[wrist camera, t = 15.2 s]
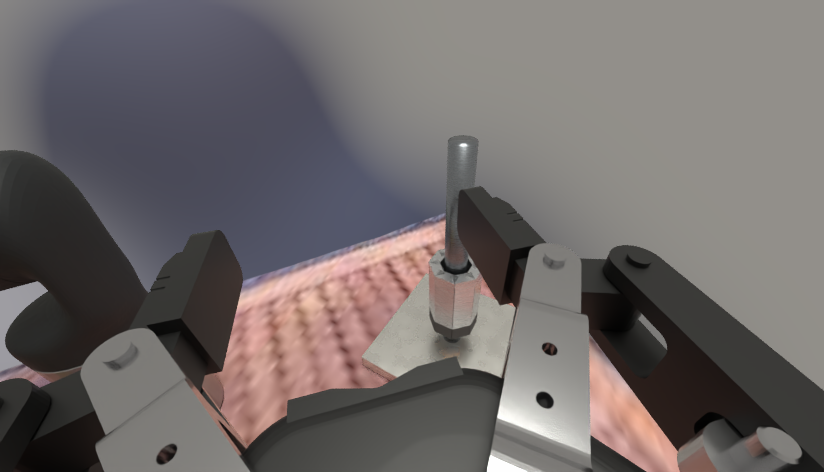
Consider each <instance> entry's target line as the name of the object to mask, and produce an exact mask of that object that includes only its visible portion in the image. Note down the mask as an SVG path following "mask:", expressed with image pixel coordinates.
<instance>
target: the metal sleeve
mask: <svg viewBox="0 0 824 472" xmlns="http://www.w3.org/2000/svg"><path fill="white" fill-rule="evenodd" d="M444 265H445V249H442V250H439V251H437V252H436V254H435V255H434V256H433V257H432V259H431V260H430V261H429V308H430V311H431V313H432V316H433V319H434V321H435V322H436V323H438V324H441V325H443V326H445V327H447V328H450V329H457V328H461V327H465V326H469V325H471V324H472V322H473V320H474V318H475V316H476V314H477V312H478V306H479V299H480V291H481V284H482V275H481V274H480V272H479V270H478V269H477V267H476V265H475V264H474V262H473V261H472V259H471V257H470V256H469V254H468V265H467V273H464V274H460V275H453V274H450V273H447V272H445V271H444Z"/></svg>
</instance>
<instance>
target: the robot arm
mask: <svg viewBox="0 0 824 472" xmlns="http://www.w3.org/2000/svg"><path fill="white" fill-rule="evenodd" d="M457 231H458V236H459V239H460V241H461V243H462V244H463V246H464V248H465V249H466V251H467V252H468V254H469V256H470V257H471V259H472V261H473V262H474V264H475V265H476V267H477V269H478V270H479V272H480V274H481V275H482V277H483V279H484V280H485V282H486V283H487V285H488V287H489V288H490V290H491V292H492V293H493V295H494V297H495V298H496V300H497V301H498V303H499V305H504V304H508V303H513V305H514V306H515V313H514V317H513V322H512V327H511V331H510V336H509V341H508V346H507V351H506V355H505V360H504V365H503V369H502V373H501V378H500V377H498V376H496V375H494V374H491V373H488V372H485V371H481V370H477V369H470V368H461V367H460V364H459V362H458V359H457V357H456V356H454V357H451V358H447V359H443V360H439V361H436V362H432V363H428V364H424V365H420V366H417V367H415V368H413V369H412V370H410V371H408V372H406V373H404V374H403V375H401V376H399V377H397V378H395V379H394V380H392V381H390V382H388V383H386V384H385V385H383V386H381V387H378V388H360V389H329V390H326V391H322V392H318V393H314V394H310V395H307V396H303V397H299V398H295V399H291V400H288V405H287V416H285V417H283V418H281V419H280V420H278V421H277V422H275V423H274V424H272V425H271V426H270V427H269V428H267V429H266V430H265V431H264V432H262V433H261V434H260V435H259V436H258V437H257V438H256V439H255V440H254V441H253V442H252V443H251V444H250V445H249V446H248V445H247V444H246V443H245V442H244V440H243V439H242V438H241V437H240V436H239V434H238V433H237V432H236V430H235V429H234V428H233V426H232V425H231V424H230V422H229V421H228V420H227V418H226V417H225V416H224V414H223V413H222V412H221V410H220V407H221V404H222V401H223V392H224V391H223V387H222V384H221V382H220V381H219V380H218V378H217V377H216V376H215V375H214V373H217V372H221V371H222V369H223V365H224V361H225V357H226V352H227V348H228V344H229V339H230V335H231V331H232V326H233V322H234V318H235V314H236V309H237V305H238V301H239V296H240V292H241V288H242V283H243V277H242V271H241V267H240V265H239V263H238V261H237V259H236V257H235V255H234V253H233V251H232V249H231V248H230V245H229V243H228V241H227V239H226V237H225V235H224V234H223V233H222V232H221V231H220V230H215V231H209V232H203V233H197V234H192V235H191V236H190V238H189V240H188V242H187V244H186V246H185V248H184V250H183V252H180V253H176V254H175V255H174V256H173V257H172V258H171V259H170V260H169V261H168V262H167V263H166V264H165V265H164V266H163V267H162V269H161V271H160V273H159V275H158V276H157V278H156V279H157V281H155V282H154V284H153V286H152V287H151V289H150V290H151V292H149V293H148V292H147V291H146V290H145V288H144V287H143V285H142V284H141V282H140V280H139V278H138V276H137V274H136V272H135V270H134V268H133V267H132V265H131V263H130V262H129V260H128V259H127V257H126V256H125V255H124V253H123V252H122V251H121V249H120V248H119V247H118V245H117V244H116V242H115V241H114V240H113V238H112V237H111V235H110V234H109V233H108V231H107V230H106V228H105V227H104V225H103V224H102V222H101V221H100V219H99V218H98V216H97V215H96V213H95V212H94V210H93V209H92V207H91V206H90V204H89V203H88V202H87V200H86V199H85V197H84V196H83V195H82V193H81V192H80V191H79V189H78V188H77V187H76V186H75V185H74V184H73V183H72V181H71V180H70V179H69V178H68V177H67V176H66V175H65V174H64V173H62V172H61V171H60V170H59V169H58V168H57V167H55V166H54V165H52V164H51V163H49V162H48V161H46V160H45V159H43V158H41V157H39V156H37V155H34V154H31V153H28V152H24V151H17V150H9V151H0V291H2V290H6V289H9V288H13V287H17V286H21V285H25V284H29V283H32V282H36V281H38V282H40V283H41V284H42V285H43V286H44V287H45V288H46V289H47V290H48V292H46V293H45V294H43V295H42V296H40V297H39V298H38V299H36V300H35V301H34V302H32V303H31V304H30V305H29V306H27V307H26V308H25V309H24V310H23V311H22V312H21V313H20V314H19V315H18V316H17V318H16V319H15V320H14V321H13V323H12V324H11V326H10V327H9V329H8V331H7V334H6V337H5V344H6V347H7V349H8V351H9V352H10V353H11V355H13V356H14V357H15V358H16V359H17V360H19V361H20V362H22V363H23V364H25V365H26V366H28V367H29V368H31V369H32V370H34V371H35V372H37V373H38V374H40V375H41V376H43V377H44V378H45V379H47V380H48V381H50V382H51V383H50V384H48V385H45V386H43V387H41V388H39V387H38V386H36V385H35V384H33V383H31V382H30V381H28V380H26V379H22V378H15V379H9V380H5V381H2V382H0V472H646V471H644V470H643V469H641V468H640V467H638V466H637V465H635V464H634V463H632V462H631V461H629V460H628V459H626V458H625V457H623V456H621V455H620V454H618V453H617V452H615V451H614V450H612V449H611V448H609V447H608V446H606V445H605V444H603V443H602V442H600V441H599V440H597V439H595V438H594V437H592V436H591V435H590V381H589V333H590V335H591V336H592V337H593V339H594V340H595V341H596V343H597V344H598V345H599V347H600V348H601V349H602V351H603V352H604V353H605V355H606V356H607V357H608V359H609V360H610V361H611V363H612V364H613V365H614V367H615V368H616V369H617V371H618V372H619V373H620V375H621V376H622V377H623V379H624V380H625V381H626V383H627V384H628V385H629V387H630V388H631V389H632V391H633V392H634V393H635V395H636V396H637V397H638V399H639V400H640V401H641V403H642V404H643V405H644V407H645V408H646V409H647V411H648V412H649V414H650V415H651V416H652V418H653V419H654V420H655V422H656V423H657V424H658V426H659V427H660V428H661V430H662V431H663V432H664V434H665V435H666V436H667V438H668V439H669V440H670V442H671V443H672V444H673V446H674V447H675V448H676V450H677V451H678V454H677V461H678V467H679V470H680V472H824V391H823V390H822V389H821V388H819V387H818V386H817V385H816V384H815V383H814V382H812V381H811V380H810V379H808V378H807V377H806V376H805V375H804V374H802V373H801V372H800V371H799V370H797V369H796V368H795V367H794V366H793V365H791V364H790V363H789V362H788V361H786V360H785V359H784V358H783V357H782V356H780V355H779V354H778V353H777V352H775V351H774V350H773V349H772V348H770V347H769V346H768V345H767V344H765V343H764V342H763V341H762V340H761V339H759V338H758V337H757V336H756V335H754V334H753V333H752V332H751V331H750V330H748V329H747V328H746V327H745V326H744V325H742V324H741V323H740V322H739V321H737V320H736V319H735V318H733V317H732V316H731V315H730V314H729V313H728V312H726V311H725V310H724V309H723V308H721V307H720V306H719V305H718V304H716V303H715V302H714V301H713V300H712V299H710V298H709V297H708V296H707V295H705V294H704V293H703V292H702V291H700V290H699V289H698V288H697V287H696V286H694V285H693V284H692V283H691V282H689V281H688V280H687V279H686V278H685V277H683V276H682V275H681V274H679V273H678V272H677V271H676V270H675V269H673V268H672V267H671V266H670V265H669V264H667V263H666V262H665V261H664V260H662V259H661V258H660V257H659V256H657V255H656V254H654V253H652V252H650V251H648V250H646V249H643V248H640V247H636V246H628V245H622V246H617V247H615V248H613V249H612V250H611V251H610V253H609V255H608V257H607V259H606V260H605V259H580V258H579V257H578V255H577V254H576V253H574V252H573V251H572V250H570V249H569V248H567V247H564V246H562V245H558V244H553V243H546V242H545V241H544V240H543V239H542V238H541V237H540V236H539V235H538V234H537V233H536V231H534V229H533V228H532V227H531V226H530V225H529V224H528V223H527V222H526V221H525V220H523V218H522V217H521V216H520V215H519V214H517V212H516V211H515V209H514V208H512V206H511V205H510V204H509V203H507V202H505V201H503V200H501V199H499V198H497V197H495V198H492V197H491V196H490V195H489V194H488V193H487V192H486V190H484V188H483V187H481V186H479V187H473V188H467V189H461V190H460V192H459V196H458V214H457ZM641 314H643V315H644V316H645V317H646V318H647V320H649V322H650V323H651V324H652V325H653V326H654V327H655V328H656V329H657V330H658V331H659V332H660V333H661V334H662V335H663V337H664V339H665V341H666V343H667V350H666V349H665V348H664V347H663V345H662V344H661V343H660V342H659V341H658V340H657V339H656V338H655V337H654V336H653V335H652V334H651V333H650V332H649V330H648V329H647V328H646V327H645V326H644V325H643V324H642V323H641V322H640V321H639V320H638V319H639V317H640V316H641Z"/></svg>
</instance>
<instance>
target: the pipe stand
mask: <svg viewBox="0 0 824 472" xmlns="http://www.w3.org/2000/svg"><path fill="white" fill-rule="evenodd" d="M477 151H478V139H476V138H475V137H471V136H464V135H463V136H454V137H451V138H450V139H449V140H448V160H447V161H448V163H447V196H446V230H445V265H444V271H445V272H447V273H450V274H453V275H460V274H464V273H467V265H468V252H467V251H466V249H465V248H464V246H463V244H462V243H461V241H460V239H459V236H458V231H457V214H458V196H459V192H460V190H461V189H467V188H473V187H474V186H475V175H476V163H477ZM514 313H515V307H513V306H510V305H508V304H504V305H499V303H498V301H497V300H495V299H492V298H489V297H487V296H484V295H481V294H480V299H479V306H478V314H477V321H476V323H475V325H474V327H473V329H472V331H471V333H470V335H467V336H463V337H459V338H455V339H450V338H448V337H445V336H443V335H441V334H439V333H437V332H435V331H434V328H433V326H432V323H431V320H430V317H429V274H427V273H426V275H425V276H424V277H423V278H422V280H421V281H420V282H419V284H418V285H417V286H416V288H415V289H414V290H413V291H412V293H411V294H410V295H409V297H408V298H407V299H406V300H405V302H404V303H403V304H402V306H401V307H400V308H399V309H398V311H397V312H396V313H395V315H394V316H393V317H392V319H391V320H390V321H389V322H388V324H387V325H386V326H385V328H384V329H383V330H382V331H381V333H380V334H379V335H378V337H377V338H376V339H375V340H374V342H373V343H372V344H371V346H370V347H369V348H368V349H367V351H366V352H365V353H364V355H363V356H362V361H363V365H364V366H366V367H367V368H369V369H371V370H373V371H374V372H376V373H378V374H380V375H381V376H383V377H385V378H386V379H388V380H390V381H392V380H394V379H395V378H397V377H399V376H401V375H403V374H404V373H406V372H408V371H410V370H412V369H413V368H415V367H417V366H420V365H424V364H428V363H432V362H436V361H439V360H443V359H447V358H451V357H454V356H456V357H457V359H458V362H459V364H460V367H461V368H470V369H477V370H481V371H485V372H488V373H491V374H494V375H496V376H498V377H500V378H501V373H502V369H503V365H504V360H505V355H506V351H507V346H508V341H509V336H510V331H511V327H512V322H513V317H514Z"/></svg>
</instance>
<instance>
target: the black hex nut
mask: <svg viewBox="0 0 824 472" xmlns="http://www.w3.org/2000/svg"><path fill="white" fill-rule="evenodd" d="M477 314H478V312H477ZM477 314H476V316H475V318H474V320H473V322H472V324H471V325H469V326H465V327H461V328H457V329H450V328H447V327H445V326H443V325H441V324H438V323H436V322H435V321H434V319H433V316H432V313H431V311H430V308H429V317H430V320H431V323H432V326H433V328H434V331H435V332H437V333H439V334H441V335H443V336H445V337H448V338H450V339H455V338H459V337H463V336H467V335H470V333H471V331H472V329H473V327H474V325H475V323H476V321H477Z"/></svg>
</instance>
